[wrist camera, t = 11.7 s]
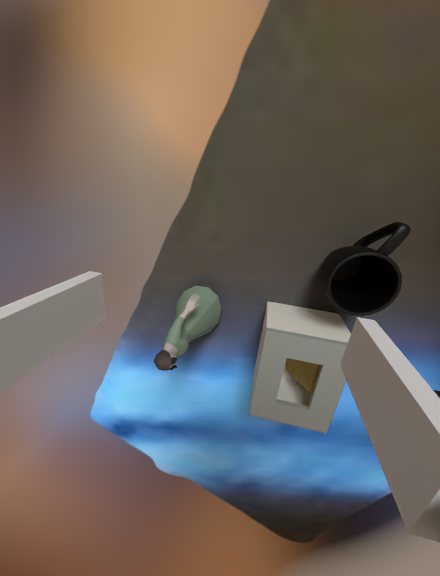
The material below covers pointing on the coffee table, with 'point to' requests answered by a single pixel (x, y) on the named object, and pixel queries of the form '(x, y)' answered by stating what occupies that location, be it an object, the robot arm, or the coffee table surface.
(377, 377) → the robot arm
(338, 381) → the box
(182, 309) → the character figurine
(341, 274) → the mug
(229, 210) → the coffee table surface
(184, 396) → the coffee table surface
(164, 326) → the coffee table surface
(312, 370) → the tall tan block
